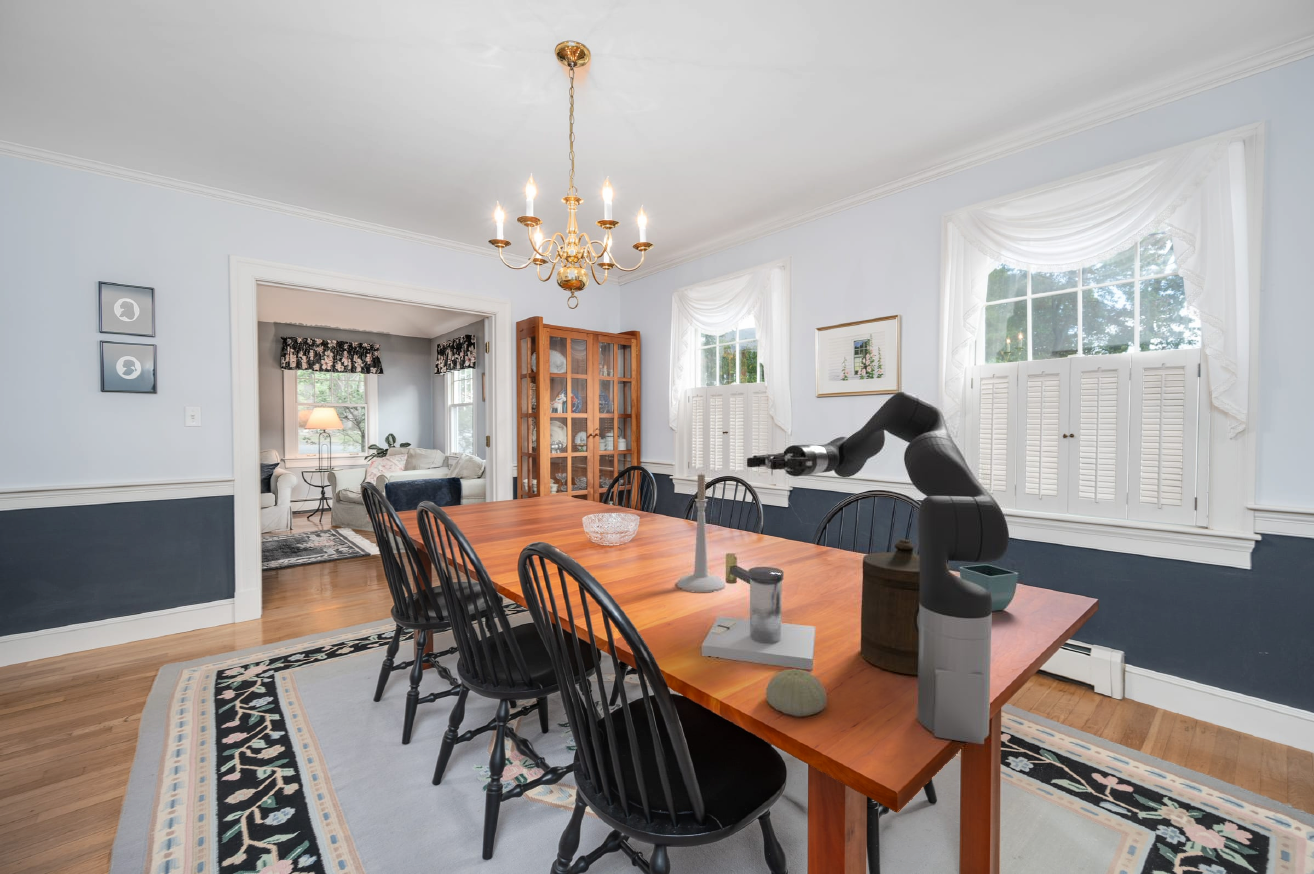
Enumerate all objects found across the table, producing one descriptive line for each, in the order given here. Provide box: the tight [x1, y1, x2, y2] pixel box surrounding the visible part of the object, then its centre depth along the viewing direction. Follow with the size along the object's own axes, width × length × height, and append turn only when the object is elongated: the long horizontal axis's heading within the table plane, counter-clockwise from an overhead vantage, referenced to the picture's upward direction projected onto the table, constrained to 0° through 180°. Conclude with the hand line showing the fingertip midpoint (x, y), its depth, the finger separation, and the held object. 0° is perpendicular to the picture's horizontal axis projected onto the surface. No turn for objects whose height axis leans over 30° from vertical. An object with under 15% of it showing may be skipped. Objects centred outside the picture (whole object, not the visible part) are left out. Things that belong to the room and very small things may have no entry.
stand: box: [701, 615, 816, 671], centre depth 109 cm, size 16×20×2 cm
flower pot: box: [958, 563, 1019, 612], centre depth 131 cm, size 9×9×9 cm
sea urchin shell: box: [765, 668, 828, 718], centre depth 87 cm, size 9×8×8 cm
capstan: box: [725, 552, 785, 642], centre depth 113 cm, size 18×7×13 cm, turn 21°
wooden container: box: [860, 539, 950, 676], centre depth 103 cm, size 15×15×22 cm
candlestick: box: [676, 473, 726, 593], centre depth 148 cm, size 13×13×30 cm
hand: (759, 463), depth 127 cm, fingers open, 6 cm apart
